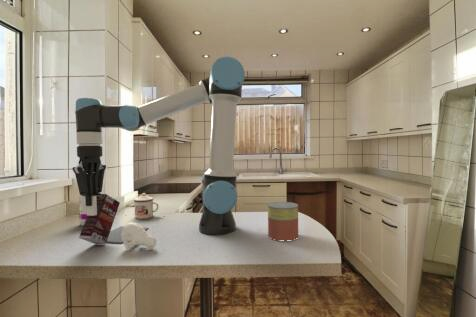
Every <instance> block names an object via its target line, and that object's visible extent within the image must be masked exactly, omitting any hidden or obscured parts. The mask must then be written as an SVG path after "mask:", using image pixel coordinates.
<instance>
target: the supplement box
mask: <svg viewBox="0 0 476 317" xmlns="http://www.w3.org/2000/svg"><path fill="white" fill-rule="evenodd" d="M120 203H121V202H120V201H118V200H116V199H115V198H113V197H112V196H110V195H109V194H107V193H100V195H97V215H94V216H90V215H88V216H87V218H86V221H85V223H84V226H83V227H82V229H81V231H80V234H79V236H78V238H79V240H83V241H86V242H89V243H91V244H94V245H102V246H103V245H107V243H106V242H107V239H108V236H109V233H110V231H112V226H113V224H114V222H115V219H116V216H117V212H118V209H119V207H120Z"/></svg>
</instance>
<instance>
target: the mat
mask: <svg viewBox="0 0 476 317" xmlns="http://www.w3.org/2000/svg"><path fill="white" fill-rule="evenodd" d="M124 226H125V225H124ZM124 226H121V225H120V226H119V227H117V228H115V229H111V230H110V233H109V236H108V239H107V242H106V244H121V245H122V244H124V242H123V241H122V238H121V233H122V229H123V227H124ZM142 227H143V226H142ZM143 228H144V230H145V231H146V232H147V230H149V227H143Z"/></svg>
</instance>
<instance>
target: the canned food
mask: <svg viewBox="0 0 476 317" xmlns="http://www.w3.org/2000/svg"><path fill="white" fill-rule="evenodd" d="M267 230H268V231H267V237H268V236H269V237H270V238H272V239H275V240H284V241H287V240H294V239H296V238H298V236H299V204H298V203H297V202H296V203H295V202H289V201H275V202H270V203H267ZM269 237H268V238H269ZM270 238H269V239H270ZM298 239H299V238H298Z"/></svg>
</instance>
